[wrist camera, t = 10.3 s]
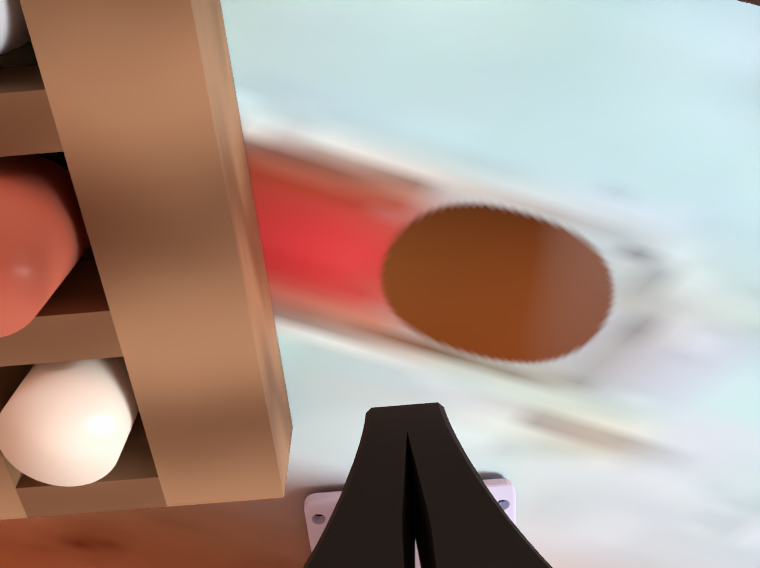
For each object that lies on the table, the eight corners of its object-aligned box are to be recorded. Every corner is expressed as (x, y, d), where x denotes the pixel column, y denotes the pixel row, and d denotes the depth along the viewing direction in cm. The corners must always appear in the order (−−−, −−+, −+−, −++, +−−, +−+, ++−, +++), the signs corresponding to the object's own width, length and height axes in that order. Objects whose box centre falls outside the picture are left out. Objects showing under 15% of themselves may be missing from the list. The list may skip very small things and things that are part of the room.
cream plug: (163, 402, 25) (132, 481, 22) (63, 410, 25) (17, 490, 22) (139, 315, 24) (103, 386, 20) (33, 324, 24) (-23, 396, 20)
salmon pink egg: (109, 262, 21) (61, 333, 18) (-9, 273, 21) (-79, 344, 18) (77, 148, 20) (17, 200, 16) (-51, 158, 20) (-137, 213, 16)
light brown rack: (292, 427, 26) (284, 497, 23) (-36, 453, 26) (-89, 526, 23) (185, -199, 17) (148, -221, 14) (-309, -155, 18) (-452, -167, 14)
